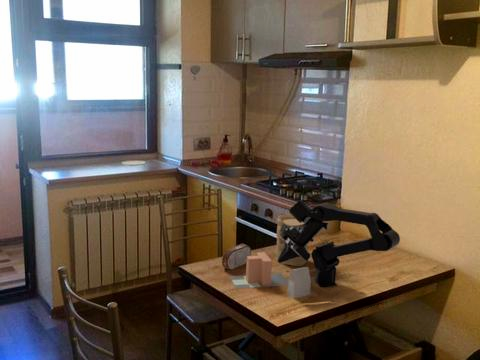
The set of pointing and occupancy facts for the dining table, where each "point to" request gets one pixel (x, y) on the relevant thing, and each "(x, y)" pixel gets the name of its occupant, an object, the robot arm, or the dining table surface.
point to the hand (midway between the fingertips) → (278, 261)
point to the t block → (259, 269)
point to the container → (291, 222)
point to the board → (242, 283)
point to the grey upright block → (299, 282)
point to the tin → (236, 256)
